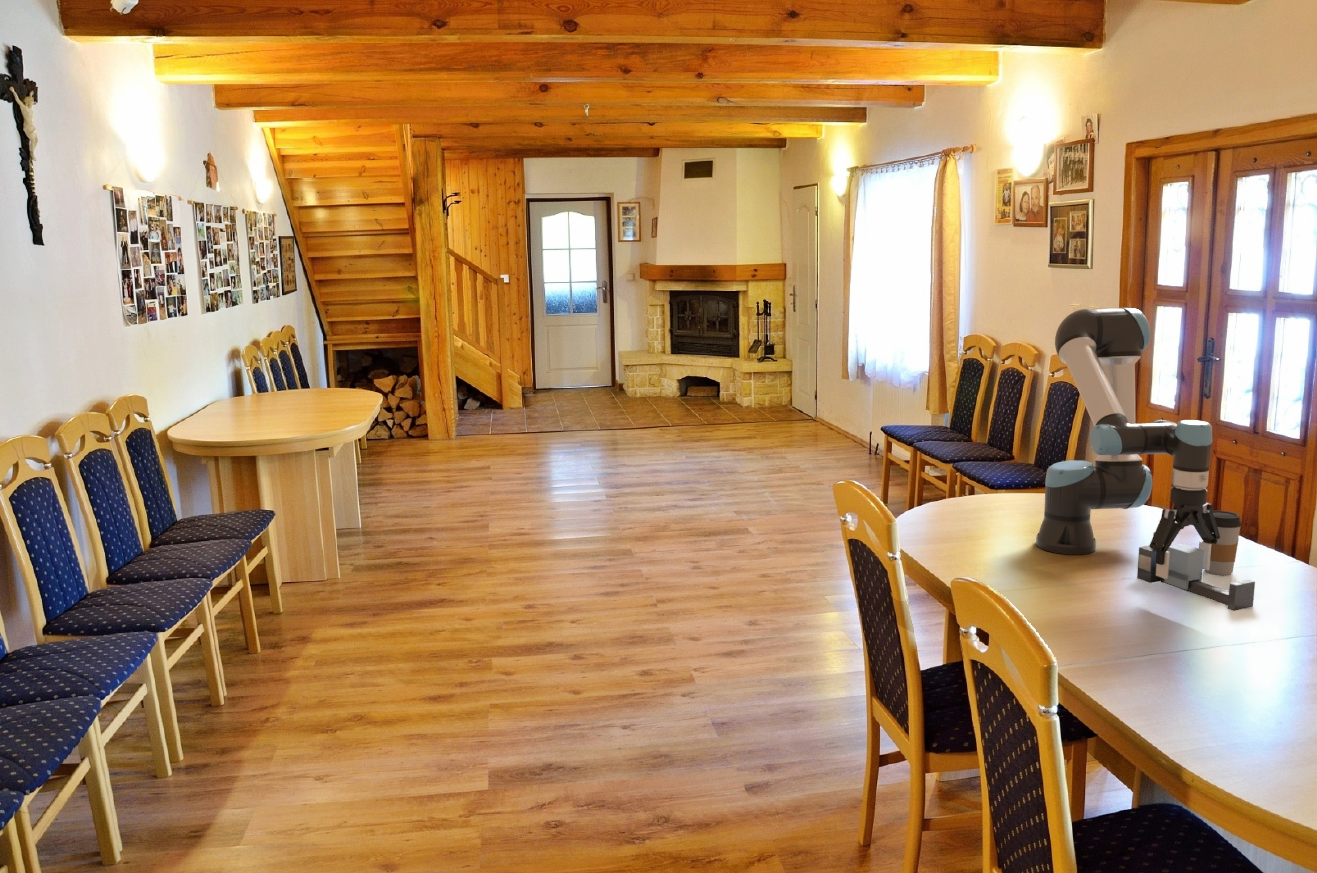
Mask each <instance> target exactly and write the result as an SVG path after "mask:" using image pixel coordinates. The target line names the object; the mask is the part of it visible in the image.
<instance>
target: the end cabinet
mask: <svg viewBox="0 0 1317 873" xmlns="http://www.w3.org/2000/svg"><path fill="white" fill-rule="evenodd" d="M1170 546H1172V544H1171V545H1170ZM1137 559H1138V560H1137V573H1136V575H1137V576H1136V579H1138V580H1140V581H1143V582H1147V583H1149V584H1152V583H1158V582H1161V577H1159V576H1156V566H1157V563H1156V550H1155V549H1152V548H1150V544H1149V545H1144V546H1139V547H1138V558H1137Z"/></svg>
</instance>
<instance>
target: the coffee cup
mask: <svg viewBox="0 0 1317 873" xmlns="http://www.w3.org/2000/svg"><path fill="white" fill-rule="evenodd" d="M1213 515H1214V518H1215V521H1216V524H1217V528H1218V531H1219V534H1220V539H1218V540H1217V539H1216V540H1217V543H1216V544H1213V543H1212V553H1211V556H1210V567H1209V570H1204V572H1205V573H1206V574H1208V575H1211V576H1216V577H1229V576H1231V575H1232V574H1233V573H1234V567H1235V562H1236V557H1237V551H1238V547H1239V546H1238V545H1239V539H1240V538H1239V536H1240V529H1241V527H1242V520H1241V518H1240V514H1238V513H1236V512H1232V511H1225V510H1213ZM1212 533H1213V532H1212ZM1202 541H1203V540H1202ZM1203 542H1204V541H1203Z"/></svg>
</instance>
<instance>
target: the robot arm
mask: <svg viewBox="0 0 1317 873" xmlns="http://www.w3.org/2000/svg"><path fill="white" fill-rule="evenodd" d="M1150 341H1151V326H1150V323H1149V321H1148V319H1147V317H1146V315H1144V313H1143V312H1142V311H1141V310H1139V309H1137V308H1131V307H1129V308H1128V307H1115V308H1114V307H1113V308H1112V307H1111V308H1083V309H1078V310H1075V311H1073V312H1071V313H1070V314H1068V315H1067V316H1065V317H1064V319H1063V320H1062V321H1061V323H1060V324H1059V325H1058V328H1057V330H1056V333H1055V337H1054V347H1055V351H1056V354H1057V356H1058V358H1059V360H1060V361H1061V362H1062V363H1064V364H1065V365H1066V366H1067V368H1068V371H1069V373H1070V375H1071V377H1072V379H1073V382H1074V384H1075V386H1076V389H1077V391H1078V392H1079V395H1080V397H1081V400H1082V402H1083V404H1084V406H1085V409H1086V411H1087V413H1088V415H1089V417H1090V420H1091V421H1092V424H1093V427H1092V428H1091V430H1090V434H1089V441H1090V447H1091V449H1092V451H1093V452H1094V453H1095V454H1097V455H1098V456H1097V457H1096V458H1095V459H1094V464H1095V465H1093V462H1090V461H1087V460H1082V459H1081V460H1075V459H1073V460H1072V459H1071V460H1064V461H1060V462H1059V461H1058V462H1056V463H1053V464H1052V465H1050V466H1048V468H1047V469H1046V476H1045V480H1044V484H1045V486H1044V487H1045V488H1044V510H1043V511H1044V512H1043V513H1044V515H1043V520H1042V522H1041V524H1040V527H1039V532H1038V533H1037V535H1036V539H1035V544H1036V546H1037V548H1039V549H1041V550H1044V551H1046V552H1051V553H1055V554H1061V555H1062V554H1063V555H1087V554H1091V553H1093V552H1095V551H1096V547H1097V540H1096V538H1095V536H1094V532H1093V531H1094V530H1093V527H1092V523H1091V512H1092V511H1091V510H1110V509H1111V510H1113V509H1116V510H1117V509H1121V510H1123V509H1124V510H1127V509H1134V508H1139V507H1142V506H1144V504H1146V503H1147V501H1149V499H1150V496H1151V494H1152V493H1151V492H1152V489H1153V475H1152V474H1151V470H1150V468H1149V467H1148V466H1147V465H1145V464H1143V457H1141V456H1140V455H1160V454H1162V455H1163V454H1164V455H1165V454H1166V455H1169V456H1172V457H1173V461H1172V462H1173V464H1172V472H1171V473H1172V475H1171V484H1172V485H1173V486H1171V490H1170V501H1171V502H1172V504H1173V507H1172V509H1168V508H1163V509H1162V511H1161V517H1160V519H1159V521H1158V522H1159V523H1158V524H1157V527H1156V528H1155V531H1154V532H1155V534H1154V536H1153V535H1152V539H1151V540H1150V543H1149V545H1150V548H1152V549H1155V550H1156V563H1157V566H1156V576H1159V577H1161V578H1164V579H1167V578H1168V569H1169V556H1170V552H1168V551H1167V550H1168V548H1169V547H1170V545H1172V544H1173V542H1174V541H1175V539H1176V538H1177V536H1178V535H1179V533H1180V532H1181V531H1182V530H1184V528H1185V527H1189V526H1193V527H1194V529H1195V531H1196V532H1197V534H1198V535H1199V537H1200V538H1201V540H1200V541H1199V542H1198V549H1202V550H1204V557H1203V570H1204V571H1205V570H1209V567H1210V556H1211V553H1212V543H1213V544H1216V543H1217V540H1218V539H1220V534H1219V531H1218V528H1217V524H1216V521H1215V518H1214V515H1213V511H1214V505H1213V504H1212V503H1209V502H1208V489H1207V487H1208V485H1209V475H1210V472H1209V471H1210V465H1211V454H1212V447H1213V446H1212V444H1213V441H1214V439H1213V426H1212V424H1211V423H1209V422H1207V421H1204V420H1203V421H1202V420H1195V419H1184V420H1179V421H1178V422H1177V423H1176V422H1175V421H1172V420H1165V419H1158V420H1154V421H1152V422H1144V423H1136V370H1135V368H1136V363H1137V362H1138V361H1139V360H1140V359H1141V357H1142V352H1143V351H1145V350H1146V349H1147V348H1148V347H1149V345H1150ZM1212 532H1213V533H1212ZM1216 539H1217V540H1216ZM1203 541H1204V542H1203ZM1163 545H1164V546H1163Z"/></svg>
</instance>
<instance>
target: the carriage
mask: <svg viewBox="0 0 1317 873" xmlns="http://www.w3.org/2000/svg"><path fill="white" fill-rule="evenodd" d="M1171 545H1172V544H1171ZM1167 551H1168V552H1170V556H1169V569H1168V578H1167V579H1164V582H1165V583H1168V584H1171V585H1174V586H1177V587H1179V588H1182V589H1185V590H1187V589H1188V583H1189V581H1192V580H1198V581H1201V582H1203V581H1202V580H1203V570H1204V569H1203V557H1204V550H1202V549H1199V547H1198V548H1197V547H1194V546H1192V545H1188V544H1185V543H1179V544H1178V543H1177V544H1173V545H1172V546H1170V547H1169V548H1168V550H1167ZM1165 583H1164V584H1165ZM1168 584H1167V585H1168ZM1171 585H1170V586H1171ZM1179 588H1178V589H1179ZM1182 589H1181V590H1182ZM1185 590H1184V591H1185Z"/></svg>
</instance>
